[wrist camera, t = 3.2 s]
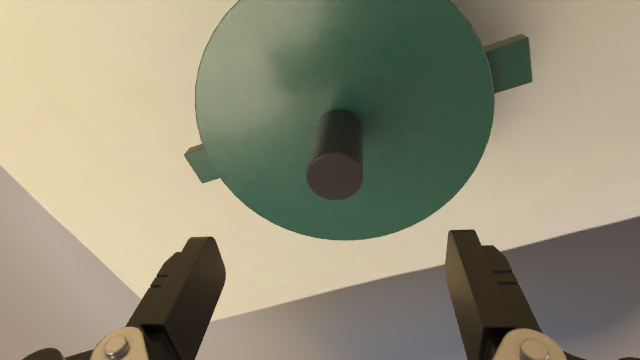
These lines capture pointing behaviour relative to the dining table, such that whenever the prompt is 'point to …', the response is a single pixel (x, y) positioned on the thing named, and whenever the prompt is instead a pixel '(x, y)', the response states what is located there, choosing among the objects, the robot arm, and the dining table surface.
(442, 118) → the lid
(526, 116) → the dining table surface
